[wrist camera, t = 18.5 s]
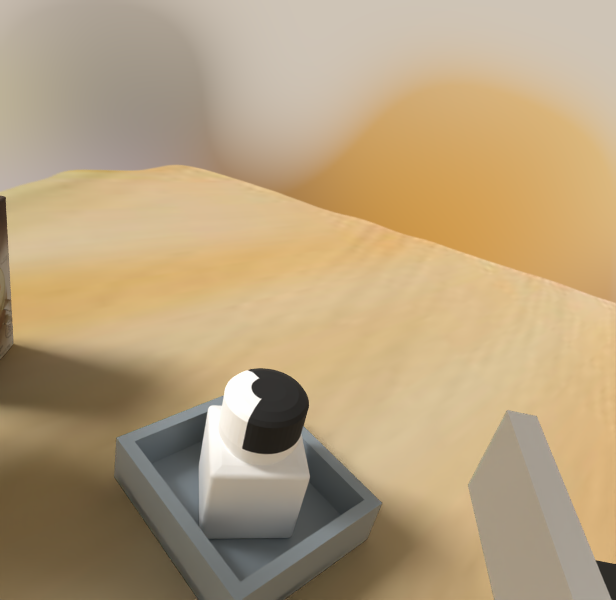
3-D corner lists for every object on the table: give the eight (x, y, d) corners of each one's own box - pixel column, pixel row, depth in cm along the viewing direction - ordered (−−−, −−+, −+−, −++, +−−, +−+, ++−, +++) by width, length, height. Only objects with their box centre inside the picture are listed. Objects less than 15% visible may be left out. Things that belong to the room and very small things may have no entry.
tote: (114, 476, 48) (116, 437, 45) (250, 417, 57) (258, 382, 54) (226, 641, 39) (236, 602, 36) (367, 539, 48) (382, 503, 45)
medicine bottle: (280, 467, 51) (309, 360, 45) (292, 540, 45) (327, 428, 39) (198, 465, 49) (216, 353, 43) (198, 541, 43) (219, 424, 37)
